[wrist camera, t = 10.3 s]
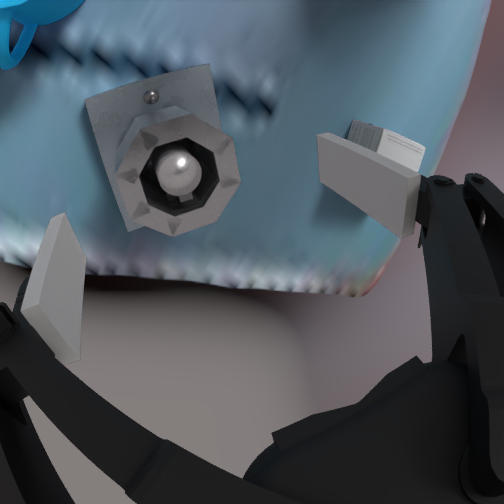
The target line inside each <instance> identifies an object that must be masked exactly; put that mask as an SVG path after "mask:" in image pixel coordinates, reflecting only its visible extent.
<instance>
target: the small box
mask: <svg viewBox="0 0 504 504" xmlns="http://www.w3.org/2000/svg"><path fill="white" fill-rule="evenodd" d="M347 140H349V141H351V142H353V143H356V144H358V145H360V146H363V147H365V148H367V149H369V150H372V151H374V152H376V153H378V154H380V155H382V156H385V157H387V158H389V159H391V160H393V161H395V162H397V163H399V164H401V165H403V166H405V167H407V168H409V169H411V170H413V171H415V172H417V173H418V170H419V167H420V164H421V161H422V158H423V155H424V152H425V149H426V148H425V147H423V146H422V145H420V144H418V143H416V142H414V141H412V140H410V139H408V138H406V137H403V136H401V135H399V134H397V133H394V132H392V131H390V130H387V129H384V128H381V127H377V126H374V125H372V124H368V123H365V122H362V121H358V120H355V119H353V121H352V124H351V128H350V131H349V135H348V138H347Z"/></svg>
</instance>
